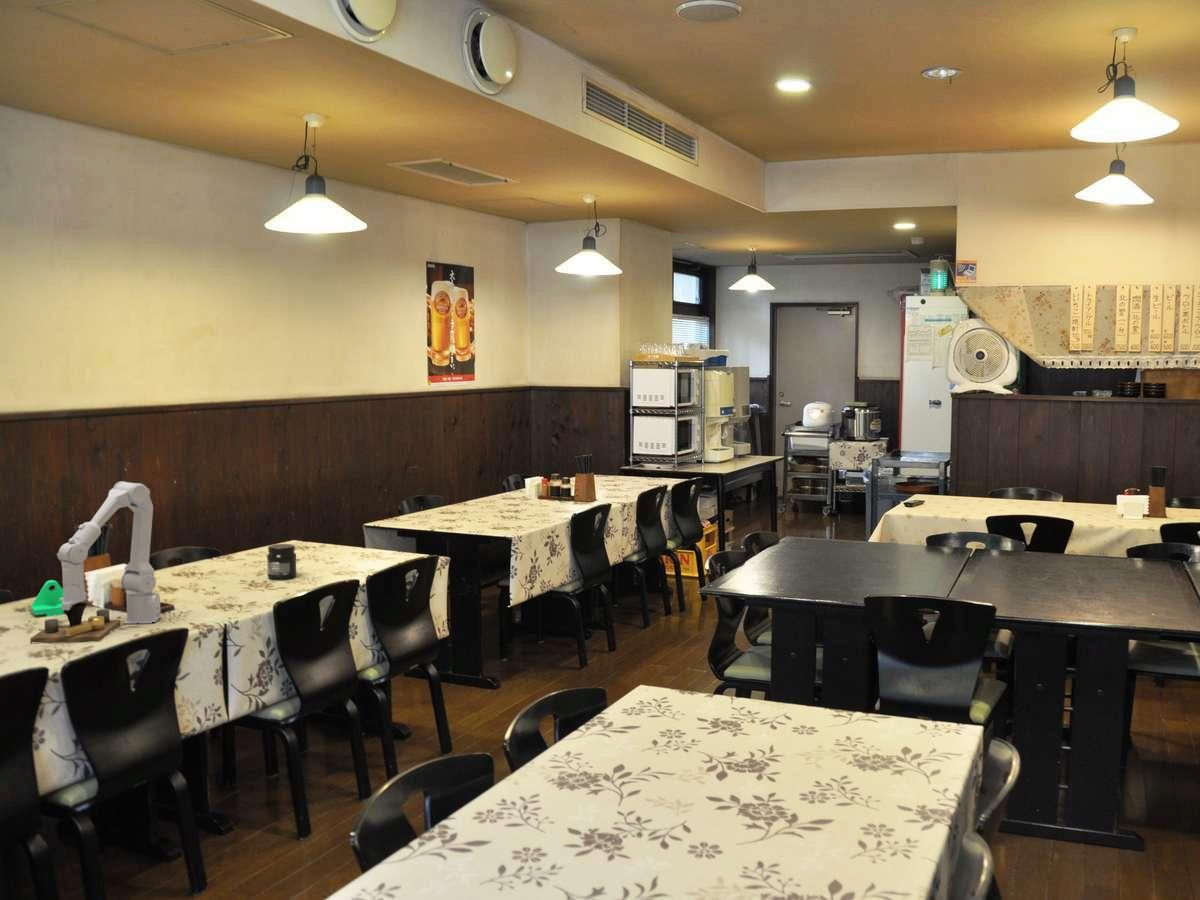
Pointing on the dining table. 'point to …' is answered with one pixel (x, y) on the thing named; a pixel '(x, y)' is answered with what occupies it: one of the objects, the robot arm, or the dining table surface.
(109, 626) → the levelling base
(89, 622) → the brass lever handle
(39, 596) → the green triangular bracket
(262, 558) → the dining table surface
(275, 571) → the supplement container
